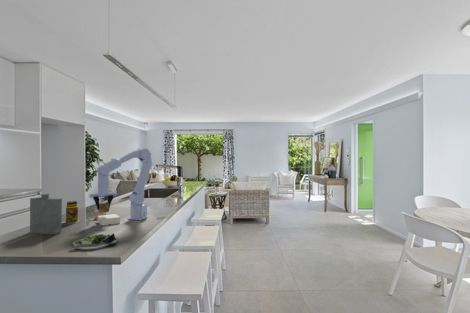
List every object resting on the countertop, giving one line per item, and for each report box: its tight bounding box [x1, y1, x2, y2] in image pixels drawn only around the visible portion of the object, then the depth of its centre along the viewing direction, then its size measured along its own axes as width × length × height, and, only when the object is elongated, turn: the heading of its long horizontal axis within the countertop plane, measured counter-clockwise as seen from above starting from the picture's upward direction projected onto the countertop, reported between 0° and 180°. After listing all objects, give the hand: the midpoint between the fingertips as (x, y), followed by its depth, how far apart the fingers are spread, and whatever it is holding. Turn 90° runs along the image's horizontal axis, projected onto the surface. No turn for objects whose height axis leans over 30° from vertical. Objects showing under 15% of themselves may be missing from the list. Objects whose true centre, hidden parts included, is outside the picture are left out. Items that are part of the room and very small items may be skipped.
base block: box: [97, 213, 121, 226], centre depth 166 cm, size 10×10×4 cm
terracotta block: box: [94, 209, 107, 220], centre depth 178 cm, size 5×5×5 cm
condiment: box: [62, 200, 81, 224], centre depth 167 cm, size 7×8×12 cm
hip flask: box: [29, 193, 63, 235], centre depth 144 cm, size 16×4×20 cm, turn 87°
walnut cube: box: [98, 201, 110, 213], centre depth 165 cm, size 5×5×5 cm
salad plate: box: [69, 233, 119, 251], centre depth 127 cm, size 19×18×5 cm
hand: (103, 209), depth 165 cm, fingers closed on walnut cube, 5 cm apart
